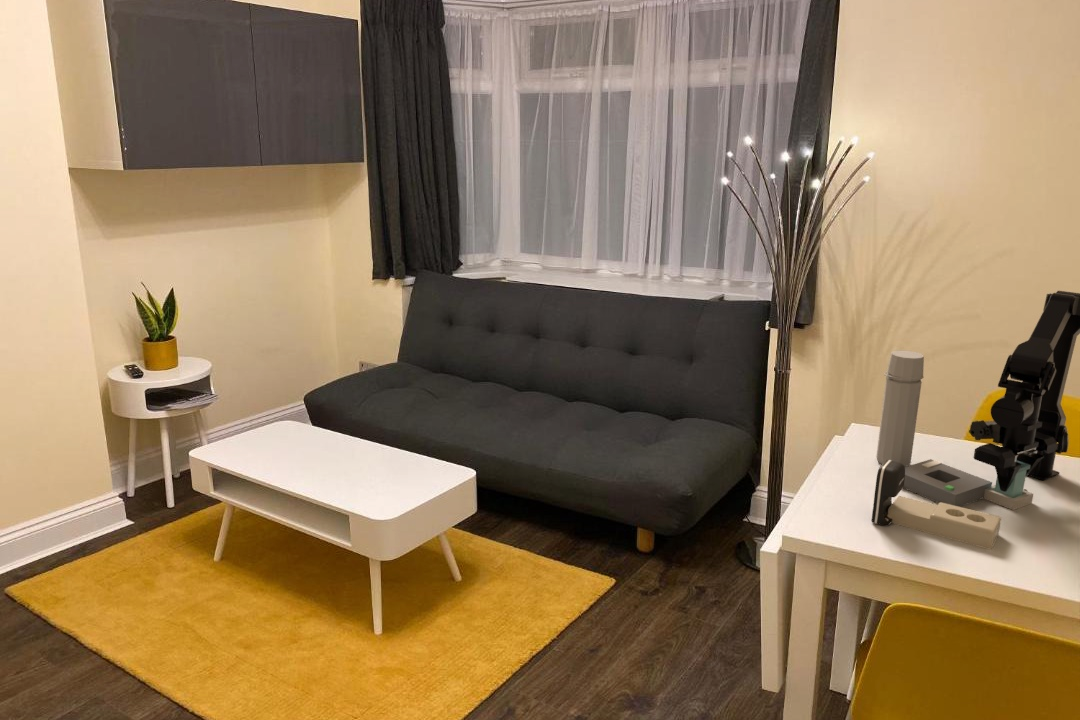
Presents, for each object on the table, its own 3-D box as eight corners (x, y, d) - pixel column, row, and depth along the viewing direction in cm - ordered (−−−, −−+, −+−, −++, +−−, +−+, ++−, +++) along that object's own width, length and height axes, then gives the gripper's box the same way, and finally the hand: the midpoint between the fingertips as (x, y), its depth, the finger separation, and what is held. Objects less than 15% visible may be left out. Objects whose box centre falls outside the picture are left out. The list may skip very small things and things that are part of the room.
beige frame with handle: (1009, 488, 179) (1011, 479, 179) (1040, 499, 174) (1042, 490, 173) (982, 497, 174) (984, 488, 174) (1013, 510, 169) (1014, 500, 169)
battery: (891, 529, 161) (898, 472, 158) (870, 524, 163) (877, 467, 160) (901, 516, 166) (908, 461, 163) (880, 511, 168) (887, 456, 165)
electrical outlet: (899, 491, 169) (1001, 516, 158) (897, 510, 170) (998, 536, 159) (889, 503, 163) (994, 530, 153) (886, 523, 164) (990, 551, 154)
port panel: (928, 472, 187) (930, 457, 186) (989, 495, 175) (992, 480, 174) (892, 483, 181) (894, 468, 180) (953, 509, 169) (955, 493, 169)
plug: (1003, 494, 176) (1009, 457, 174) (1024, 502, 173) (1030, 465, 171) (990, 498, 174) (996, 461, 172) (1011, 507, 171) (1017, 469, 168)
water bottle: (917, 469, 188) (932, 359, 181) (881, 469, 188) (895, 358, 181) (900, 453, 197) (915, 347, 190) (866, 453, 197) (879, 347, 190)
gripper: (1009, 396, 180) (998, 465, 184) (954, 410, 170) (943, 484, 175) (1064, 411, 171) (1050, 484, 175) (1008, 428, 161) (995, 504, 166)
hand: (1009, 488), depth 173 cm, fingers closed on plug, 4 cm apart
